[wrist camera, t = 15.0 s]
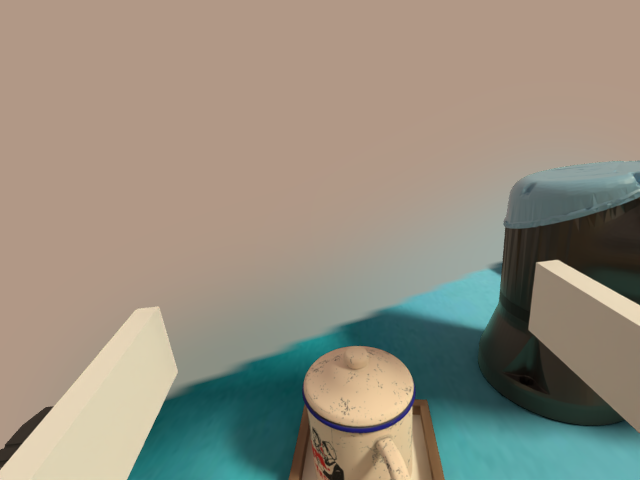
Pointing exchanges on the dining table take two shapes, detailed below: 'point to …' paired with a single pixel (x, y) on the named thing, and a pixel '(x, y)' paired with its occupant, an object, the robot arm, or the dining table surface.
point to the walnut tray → (424, 448)
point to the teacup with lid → (360, 415)
